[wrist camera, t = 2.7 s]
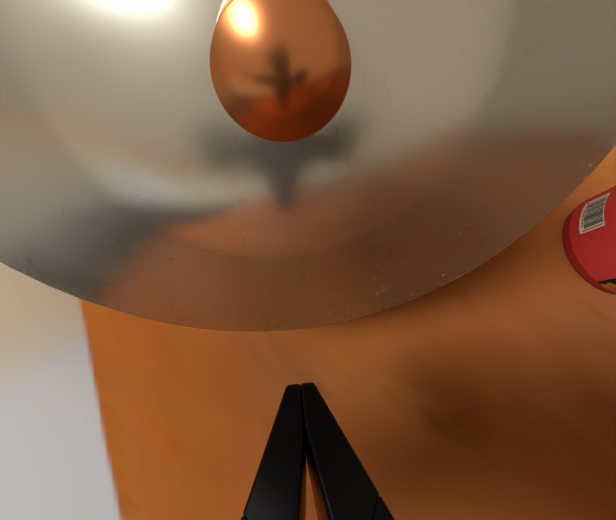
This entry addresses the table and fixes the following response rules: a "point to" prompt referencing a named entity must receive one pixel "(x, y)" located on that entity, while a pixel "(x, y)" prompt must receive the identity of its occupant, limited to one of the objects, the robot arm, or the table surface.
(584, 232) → the canned food
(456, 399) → the table surface
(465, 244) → the cooker lid
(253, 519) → the robot arm
